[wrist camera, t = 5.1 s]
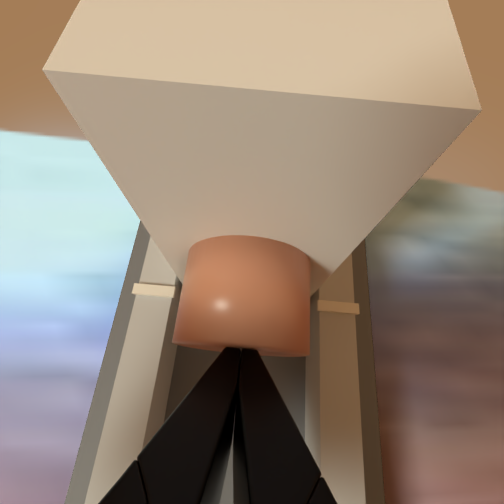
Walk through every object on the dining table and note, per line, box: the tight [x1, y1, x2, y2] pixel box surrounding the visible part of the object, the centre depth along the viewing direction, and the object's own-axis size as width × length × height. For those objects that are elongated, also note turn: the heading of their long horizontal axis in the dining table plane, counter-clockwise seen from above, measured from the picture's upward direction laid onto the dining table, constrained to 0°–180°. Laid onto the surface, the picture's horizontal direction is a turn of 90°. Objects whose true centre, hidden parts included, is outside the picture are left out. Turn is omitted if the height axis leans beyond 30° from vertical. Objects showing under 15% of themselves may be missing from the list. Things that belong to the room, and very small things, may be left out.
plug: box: [42, 0, 482, 357], centre depth 9 cm, size 6×5×11 cm
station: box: [64, 220, 385, 504], centre depth 10 cm, size 20×12×6 cm, turn 175°
